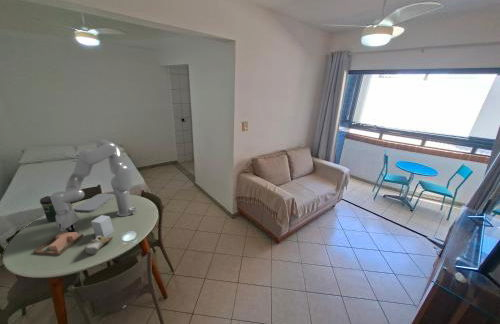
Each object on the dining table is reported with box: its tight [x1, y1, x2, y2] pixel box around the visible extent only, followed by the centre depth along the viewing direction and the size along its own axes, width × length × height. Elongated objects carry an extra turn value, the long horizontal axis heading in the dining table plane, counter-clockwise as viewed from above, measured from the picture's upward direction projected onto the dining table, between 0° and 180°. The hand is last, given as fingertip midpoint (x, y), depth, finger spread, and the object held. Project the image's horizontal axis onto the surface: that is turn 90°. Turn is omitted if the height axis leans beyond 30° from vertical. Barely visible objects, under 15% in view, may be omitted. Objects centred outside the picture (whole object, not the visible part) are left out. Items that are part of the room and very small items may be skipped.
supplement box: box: [91, 214, 115, 239], centre depth 128 cm, size 7×7×13 cm
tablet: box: [74, 193, 115, 213], centre depth 165 cm, size 16×26×2 cm, turn 176°
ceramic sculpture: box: [84, 235, 114, 255], centre depth 118 cm, size 11×9×15 cm
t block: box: [48, 231, 79, 252], centre depth 120 cm, size 10×12×4 cm
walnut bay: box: [32, 233, 85, 256], centre depth 120 cm, size 16×16×2 cm
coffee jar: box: [39, 195, 57, 222], centre depth 141 cm, size 10×8×19 cm
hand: (72, 233), depth 128 cm, fingers closed
